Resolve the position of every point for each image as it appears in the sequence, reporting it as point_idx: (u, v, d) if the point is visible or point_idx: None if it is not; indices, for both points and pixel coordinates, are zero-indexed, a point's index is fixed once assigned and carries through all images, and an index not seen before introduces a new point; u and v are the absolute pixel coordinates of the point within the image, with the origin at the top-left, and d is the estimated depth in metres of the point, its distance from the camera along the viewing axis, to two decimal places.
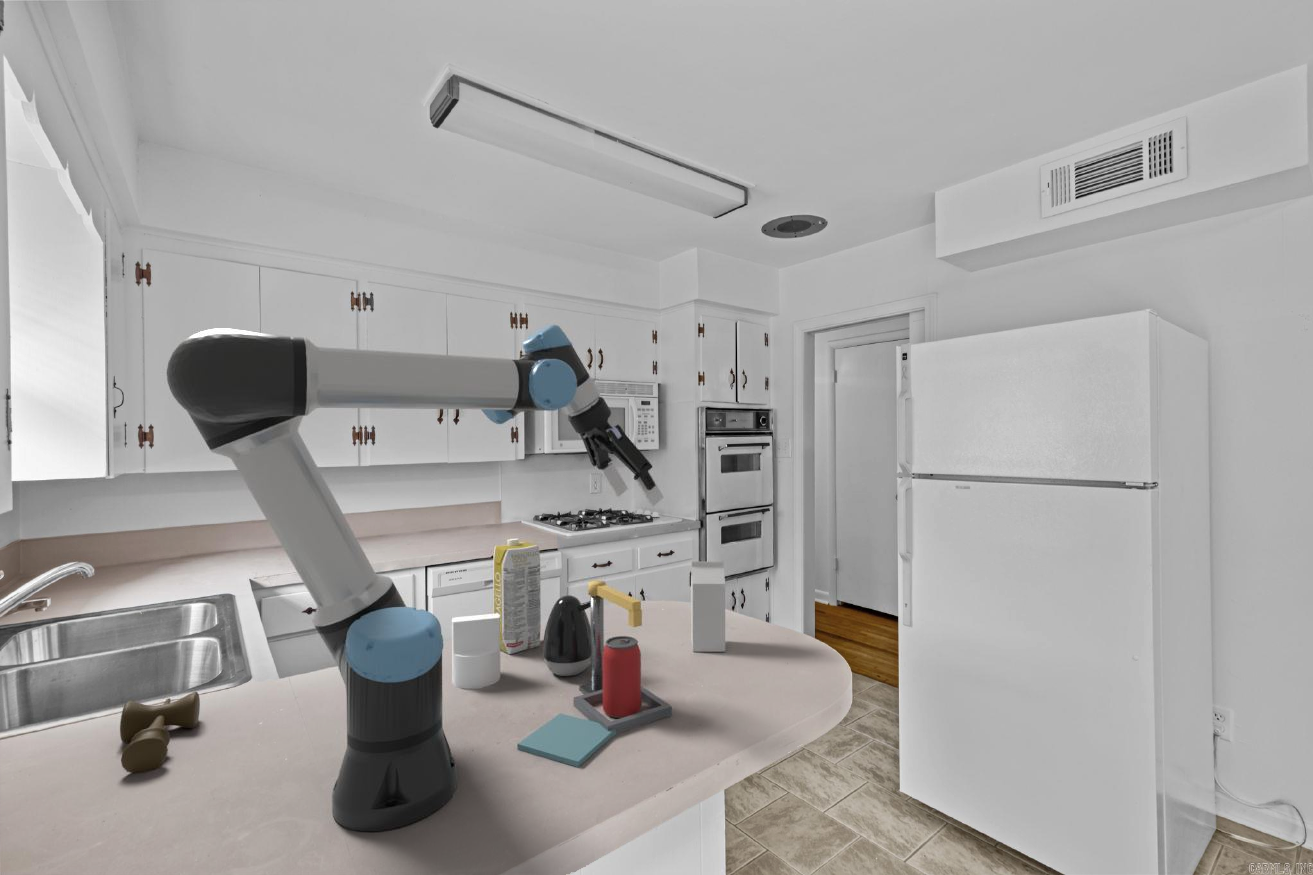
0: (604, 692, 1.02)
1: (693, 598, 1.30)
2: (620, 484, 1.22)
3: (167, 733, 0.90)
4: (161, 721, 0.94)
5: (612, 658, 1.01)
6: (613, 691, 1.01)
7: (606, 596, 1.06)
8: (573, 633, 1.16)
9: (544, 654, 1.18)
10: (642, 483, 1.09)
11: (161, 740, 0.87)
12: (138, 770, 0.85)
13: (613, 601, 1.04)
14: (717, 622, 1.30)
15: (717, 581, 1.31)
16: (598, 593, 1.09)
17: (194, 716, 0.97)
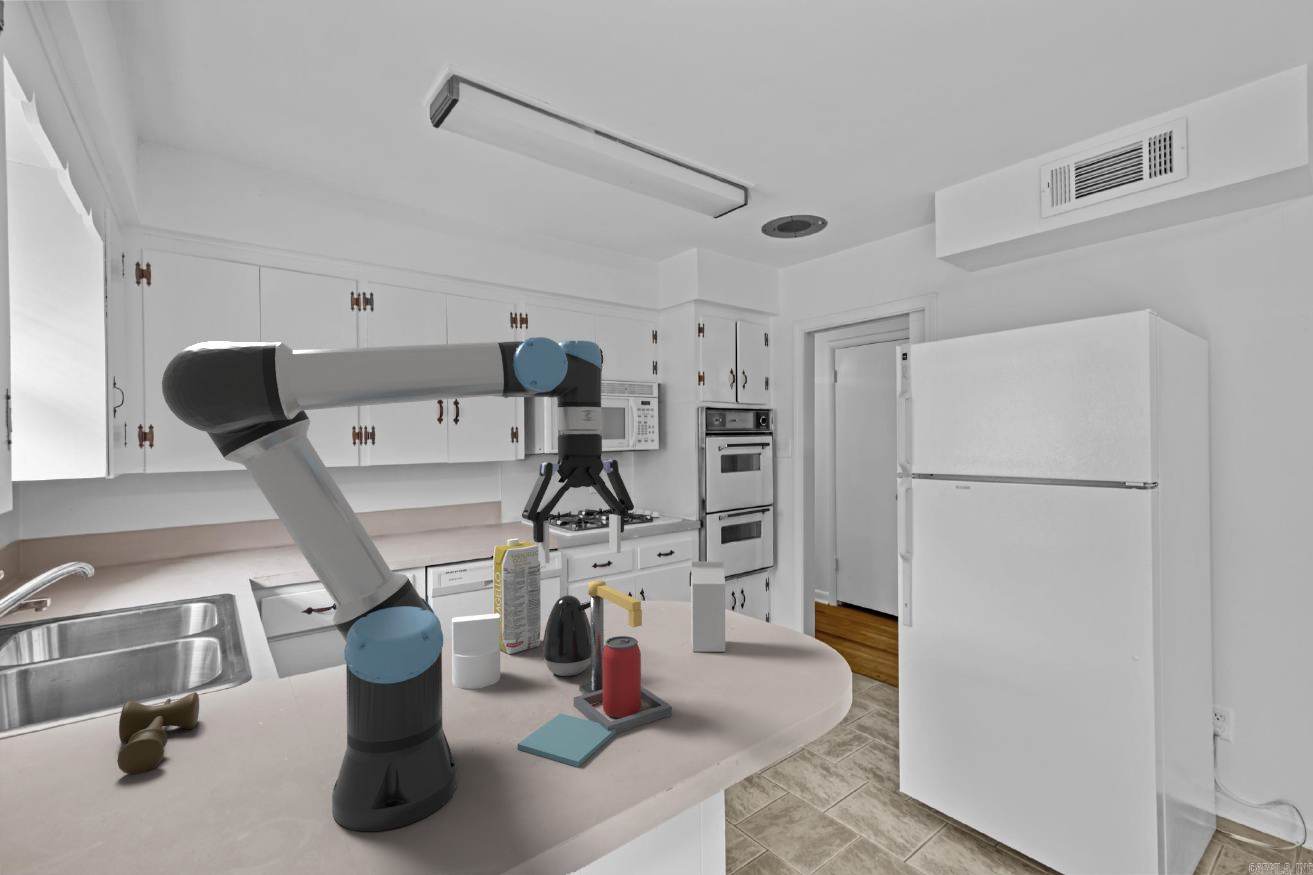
0: (604, 692, 1.02)
1: (693, 598, 1.30)
2: (613, 541, 1.06)
3: (164, 734, 0.90)
4: (159, 721, 0.94)
5: (612, 658, 1.01)
6: (613, 691, 1.01)
7: (606, 596, 1.06)
8: (573, 633, 1.16)
9: (544, 654, 1.18)
10: None
11: (157, 741, 0.86)
12: (134, 771, 0.85)
13: (613, 601, 1.04)
14: (717, 622, 1.30)
15: (717, 581, 1.31)
16: (598, 593, 1.09)
17: (193, 717, 0.97)
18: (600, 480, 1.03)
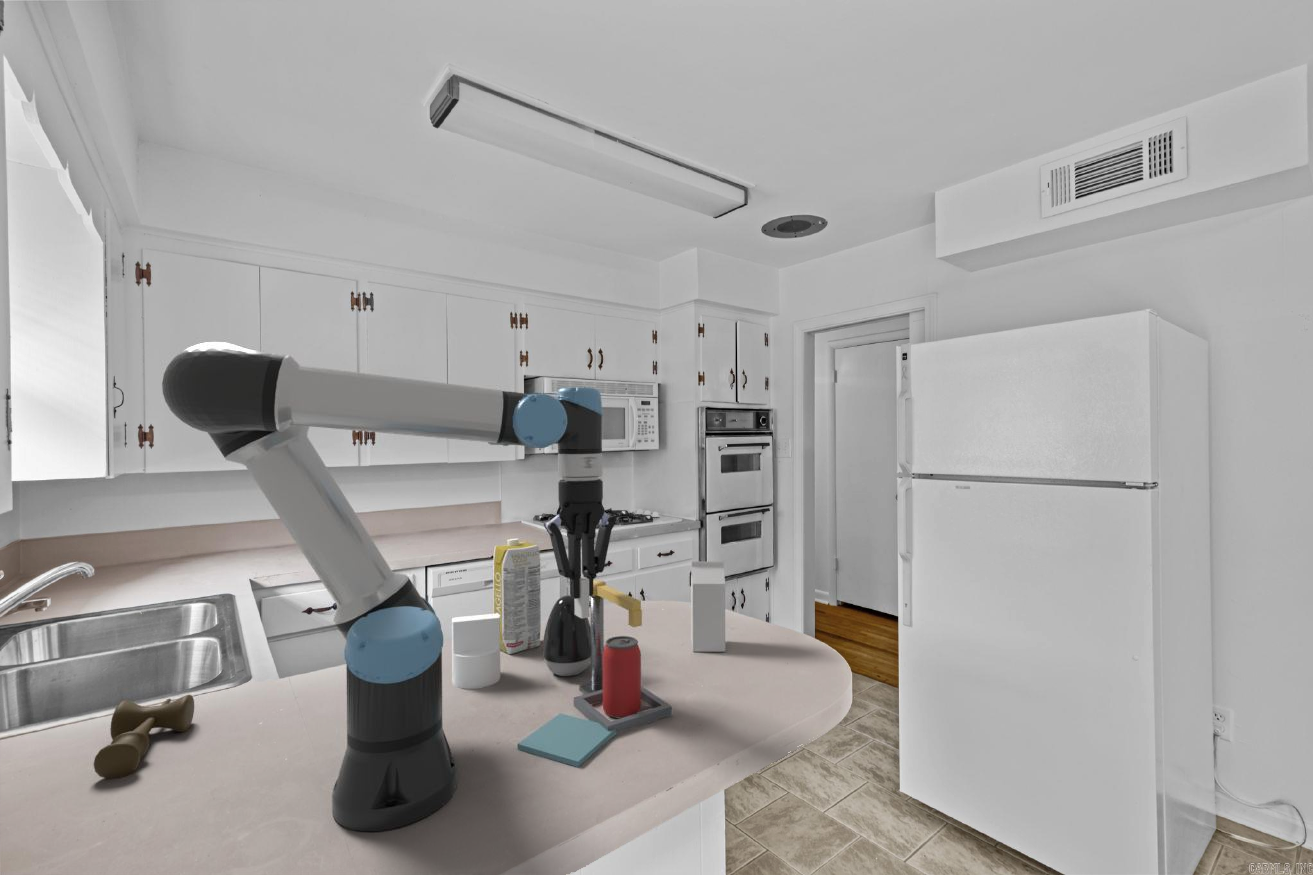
0: (604, 692, 1.02)
1: (693, 598, 1.30)
2: None
3: (146, 738, 0.88)
4: (148, 724, 0.93)
5: (612, 658, 1.01)
6: (613, 690, 1.01)
7: (606, 596, 1.06)
8: (573, 633, 1.16)
9: (544, 654, 1.18)
10: None
11: (133, 746, 0.85)
12: (109, 775, 0.84)
13: (613, 601, 1.04)
14: (717, 622, 1.30)
15: (717, 581, 1.31)
16: (598, 593, 1.09)
17: (183, 720, 0.96)
18: (593, 530, 1.02)
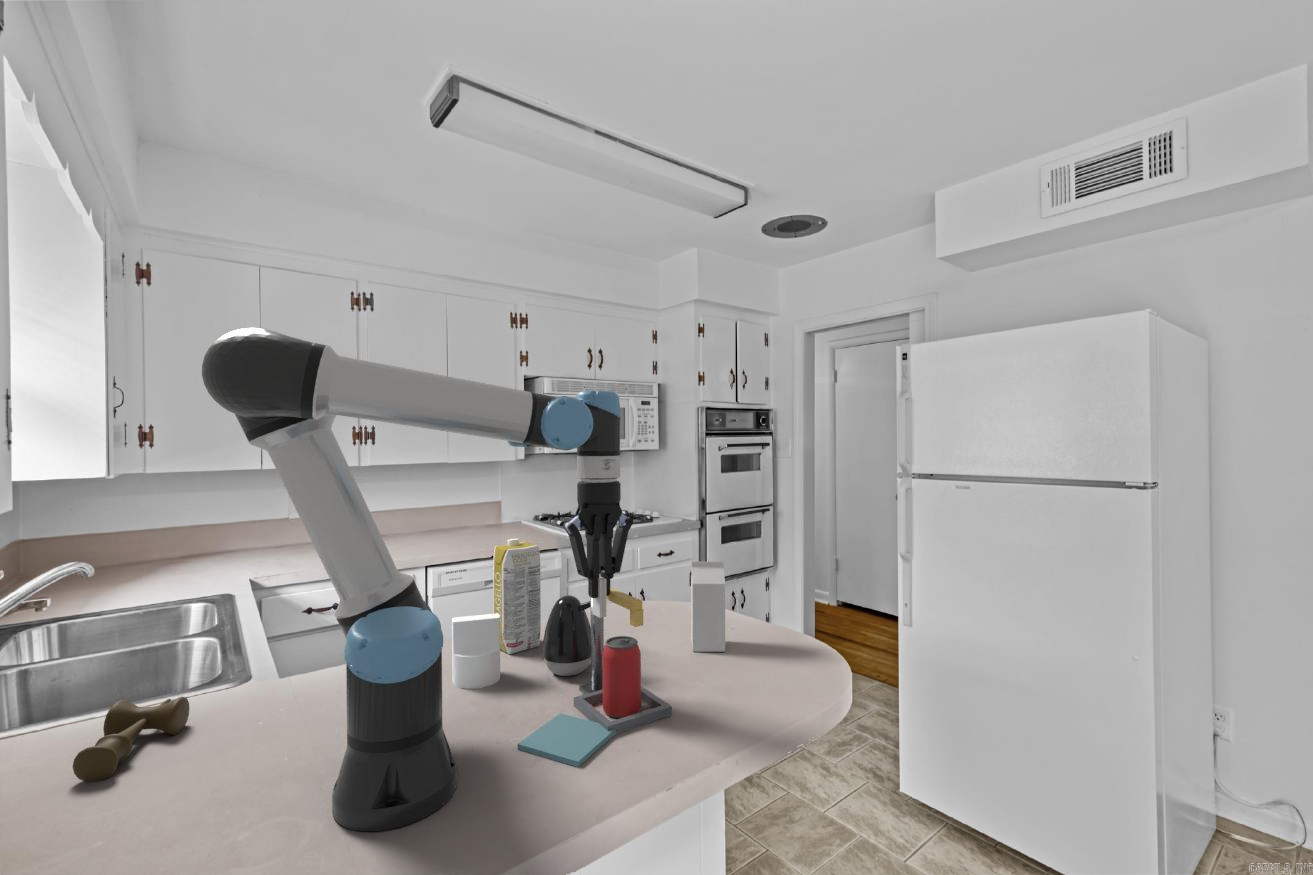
0: (604, 692, 1.02)
1: (693, 598, 1.30)
2: None
3: (128, 741, 0.88)
4: (138, 726, 0.92)
5: (612, 658, 1.01)
6: (613, 691, 1.01)
7: (607, 596, 1.06)
8: (573, 633, 1.16)
9: (544, 654, 1.18)
10: None
11: (110, 751, 0.84)
12: (87, 779, 0.83)
13: (614, 601, 1.04)
14: (717, 622, 1.30)
15: (717, 581, 1.31)
16: None
17: (173, 723, 0.95)
18: (611, 531, 1.04)
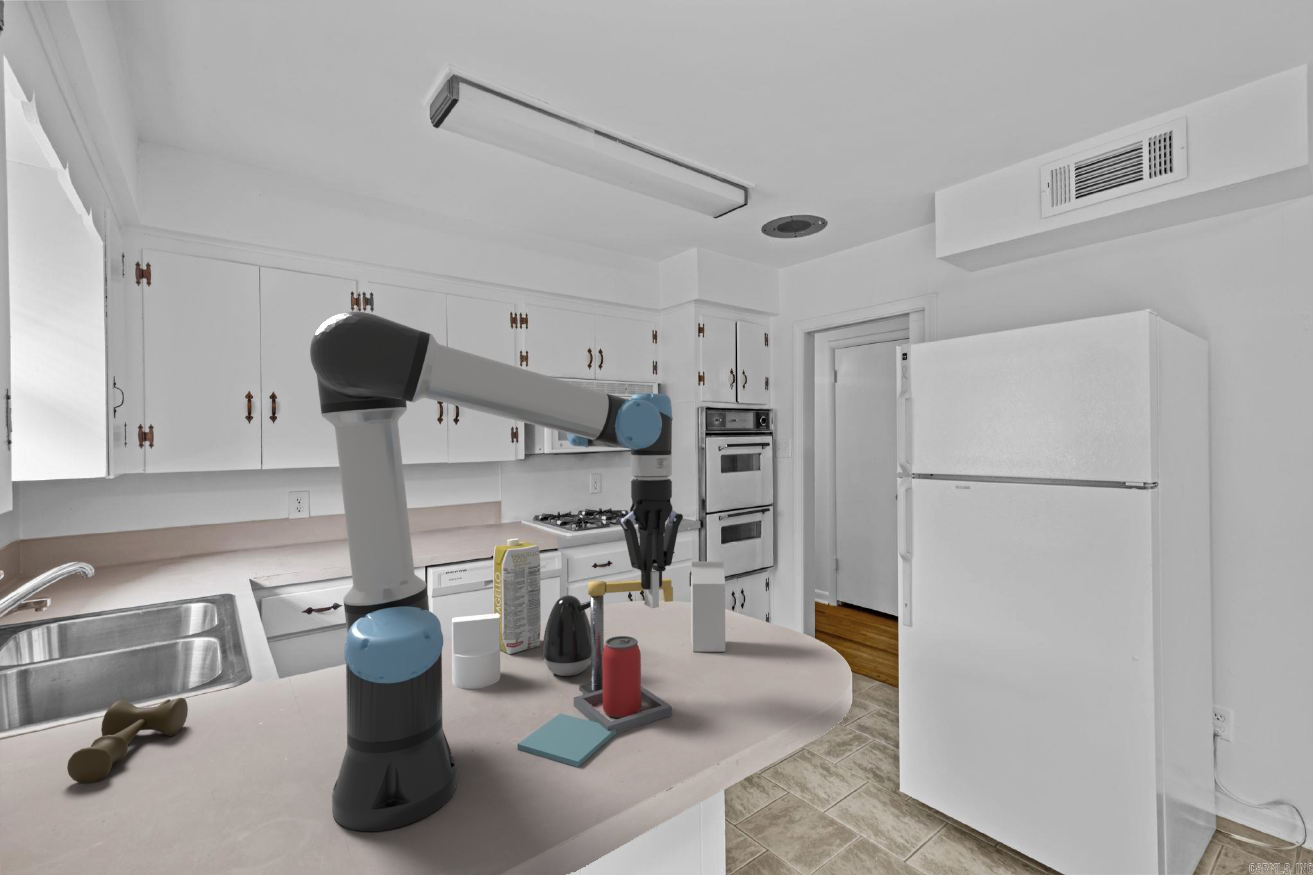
0: (604, 692, 1.02)
1: (693, 598, 1.30)
2: None
3: (124, 743, 0.87)
4: (135, 726, 0.92)
5: (612, 658, 1.01)
6: (613, 691, 1.01)
7: (625, 588, 1.11)
8: (573, 633, 1.16)
9: (544, 654, 1.18)
10: None
11: (104, 752, 0.83)
12: (81, 780, 0.83)
13: (638, 589, 1.12)
14: (717, 622, 1.30)
15: (717, 581, 1.31)
16: (608, 590, 1.11)
17: (170, 724, 0.94)
18: (663, 526, 1.10)
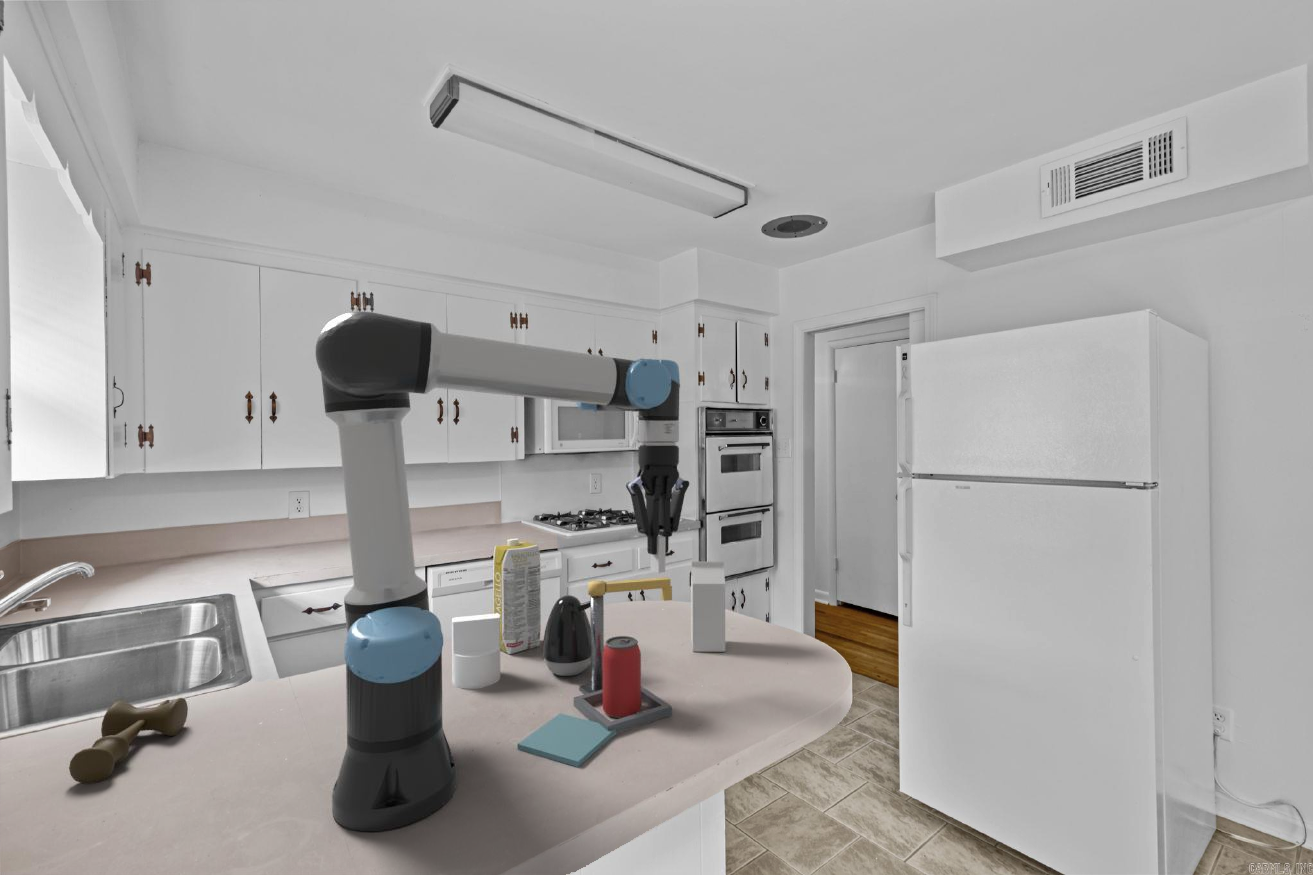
0: (604, 692, 1.02)
1: (693, 598, 1.30)
2: None
3: (125, 743, 0.87)
4: (135, 727, 0.92)
5: (612, 658, 1.01)
6: (613, 691, 1.01)
7: (625, 587, 1.12)
8: (573, 633, 1.16)
9: (544, 654, 1.18)
10: None
11: (107, 752, 0.83)
12: (84, 780, 0.82)
13: (638, 588, 1.12)
14: (717, 622, 1.30)
15: (717, 581, 1.31)
16: (609, 590, 1.11)
17: (170, 724, 0.94)
18: (669, 492, 1.11)
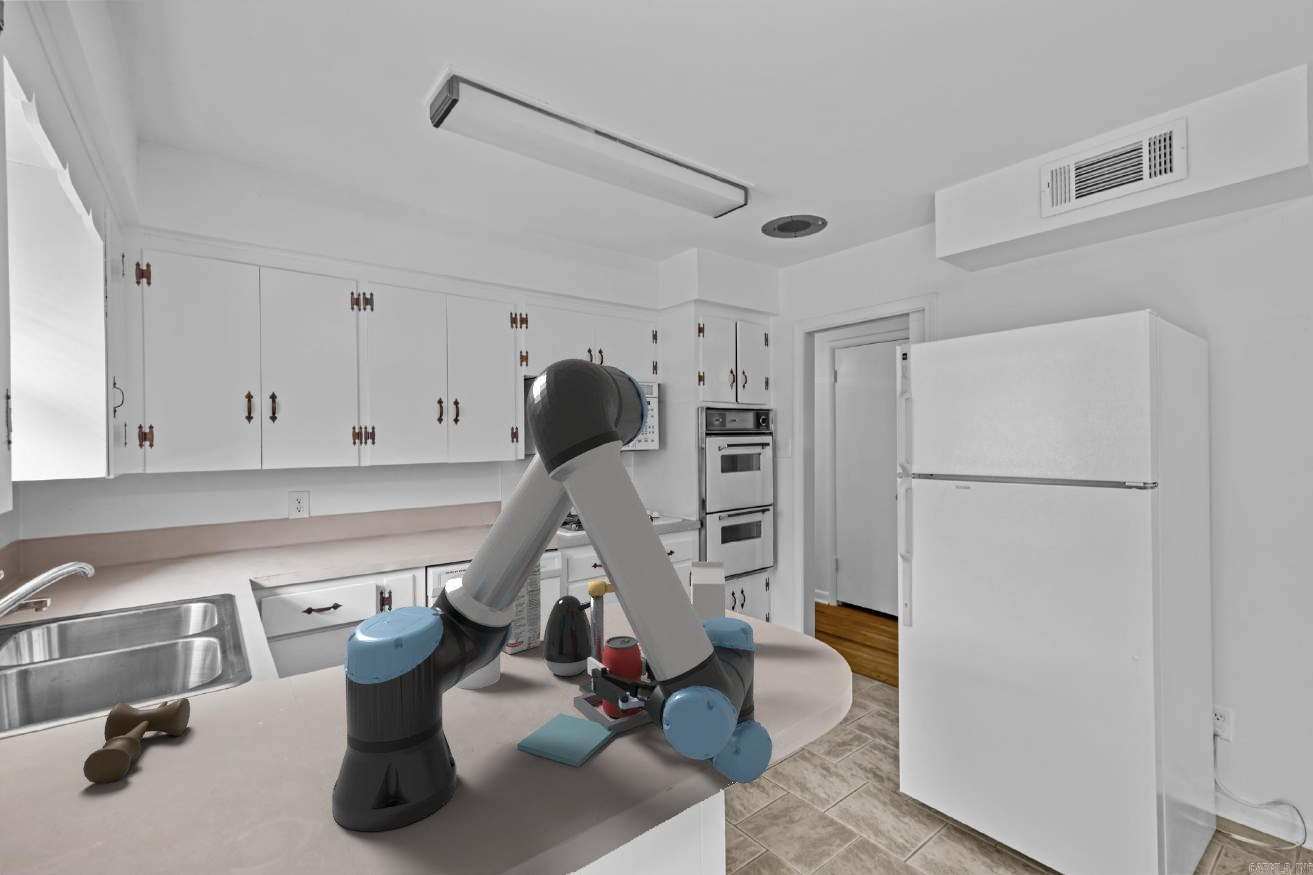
0: None
1: (693, 598, 1.30)
2: None
3: (137, 743, 0.87)
4: (142, 728, 0.92)
5: (612, 658, 1.01)
6: None
7: None
8: (573, 633, 1.16)
9: (544, 654, 1.18)
10: (600, 669, 1.01)
11: (123, 751, 0.83)
12: (99, 781, 0.82)
13: None
14: None
15: (717, 581, 1.31)
16: (609, 590, 1.11)
17: (177, 724, 0.94)
18: None
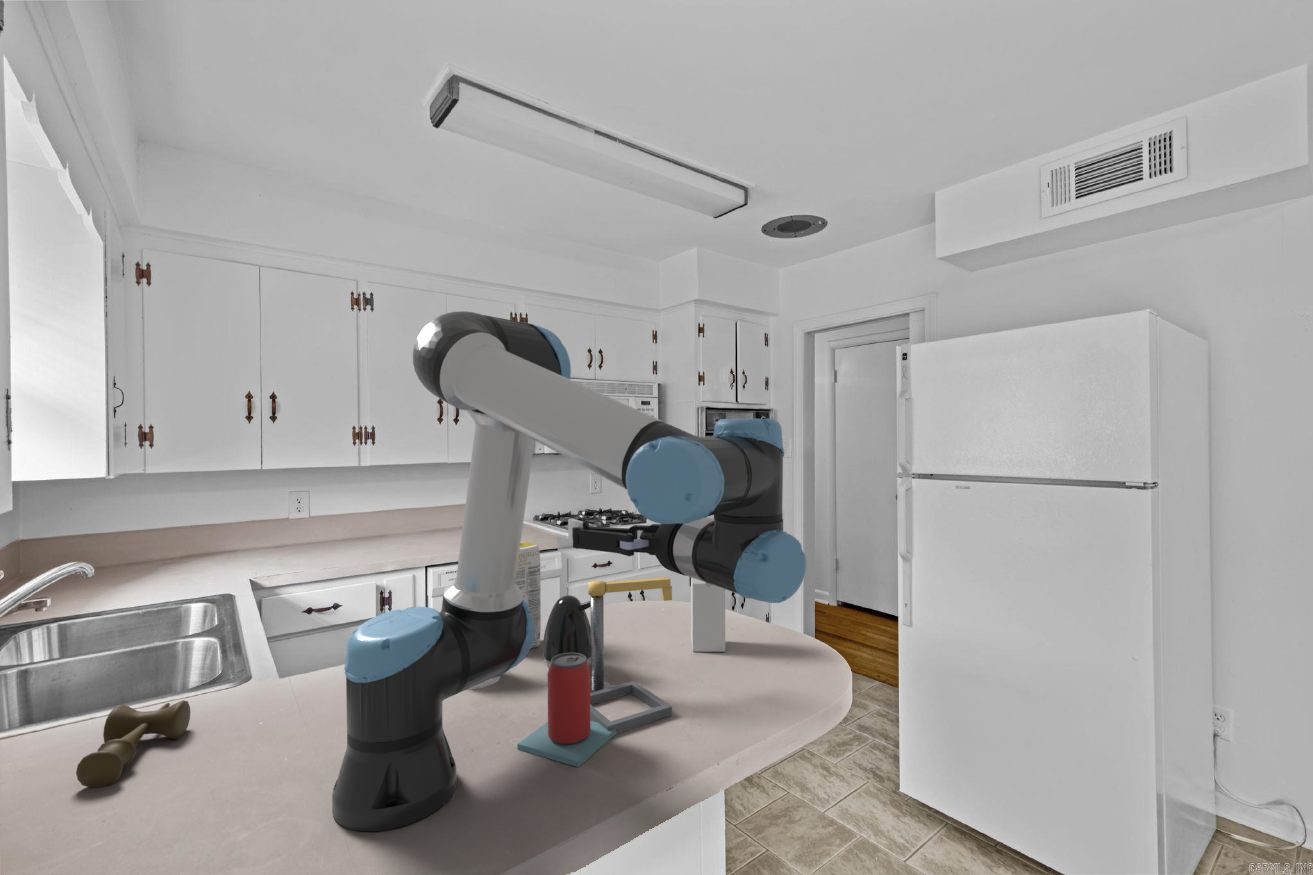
0: (549, 716, 0.92)
1: (693, 598, 1.30)
2: (653, 523, 0.94)
3: (132, 746, 0.86)
4: (140, 730, 0.91)
5: (556, 678, 0.91)
6: (558, 714, 0.91)
7: (625, 587, 1.12)
8: (573, 633, 1.16)
9: (544, 654, 1.18)
10: (583, 526, 0.84)
11: (115, 756, 0.82)
12: (91, 785, 0.81)
13: (638, 588, 1.12)
14: (717, 622, 1.30)
15: None
16: (609, 590, 1.11)
17: (175, 727, 0.93)
18: None
